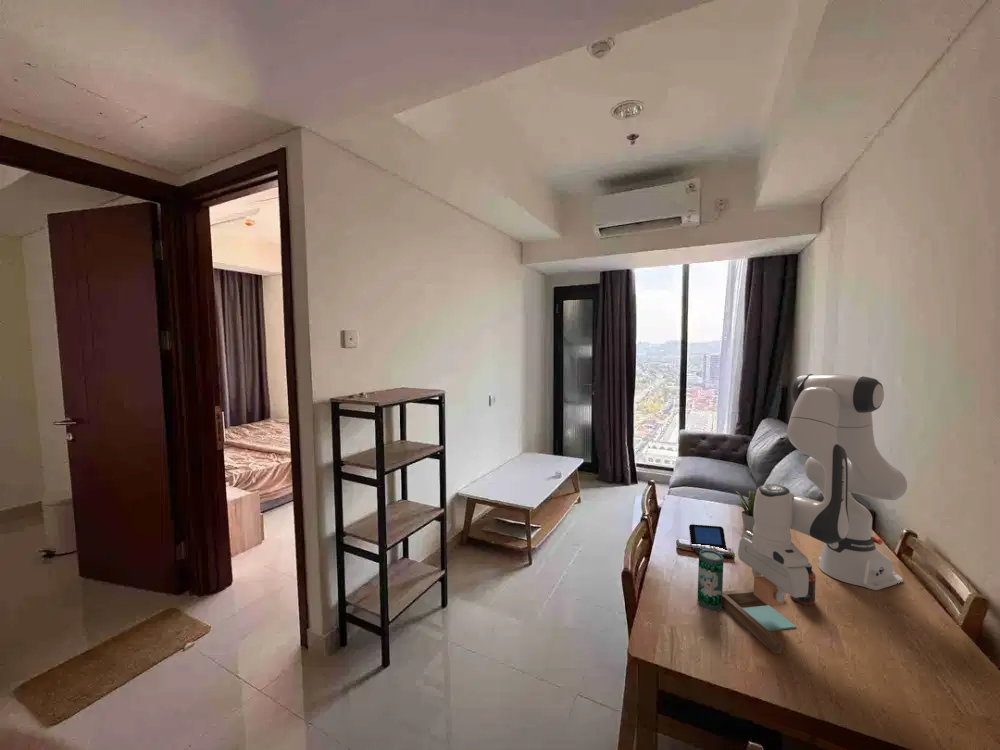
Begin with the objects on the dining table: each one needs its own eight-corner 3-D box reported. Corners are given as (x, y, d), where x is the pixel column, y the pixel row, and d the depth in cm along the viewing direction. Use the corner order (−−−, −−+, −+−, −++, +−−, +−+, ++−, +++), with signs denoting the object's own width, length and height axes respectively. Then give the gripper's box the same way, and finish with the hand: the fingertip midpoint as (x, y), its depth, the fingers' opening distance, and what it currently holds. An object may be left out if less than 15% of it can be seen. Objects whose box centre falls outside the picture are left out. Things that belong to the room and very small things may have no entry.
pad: (769, 606, 116) (769, 605, 116) (796, 627, 107) (796, 626, 107) (741, 609, 114) (741, 608, 114) (766, 631, 106) (766, 629, 106)
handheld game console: (696, 556, 144) (697, 536, 144) (687, 542, 155) (688, 523, 155) (734, 559, 142) (734, 539, 142) (722, 544, 153) (723, 526, 153)
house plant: (782, 537, 158) (784, 497, 157) (747, 537, 159) (749, 497, 158) (759, 522, 173) (761, 485, 172) (727, 521, 173) (729, 485, 172)
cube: (753, 594, 112) (754, 577, 112) (769, 592, 113) (769, 575, 113) (767, 605, 107) (768, 587, 107) (784, 603, 108) (784, 586, 108)
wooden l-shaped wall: (779, 595, 121) (780, 586, 121) (848, 645, 101) (848, 634, 100) (717, 601, 118) (718, 591, 118) (775, 654, 98) (776, 642, 97)
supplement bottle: (809, 595, 121) (811, 560, 120) (818, 607, 115) (820, 570, 115) (786, 592, 123) (788, 556, 122) (793, 603, 117) (795, 566, 116)
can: (695, 605, 116) (697, 555, 116) (700, 595, 121) (702, 547, 120) (718, 613, 113) (720, 562, 112) (723, 603, 117) (725, 554, 116)
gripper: (733, 528, 119) (731, 573, 120) (792, 564, 99) (790, 618, 100) (752, 527, 120) (750, 571, 121) (814, 563, 100) (811, 615, 101)
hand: (768, 592), depth 110 cm, fingers closed on cube, 5 cm apart
